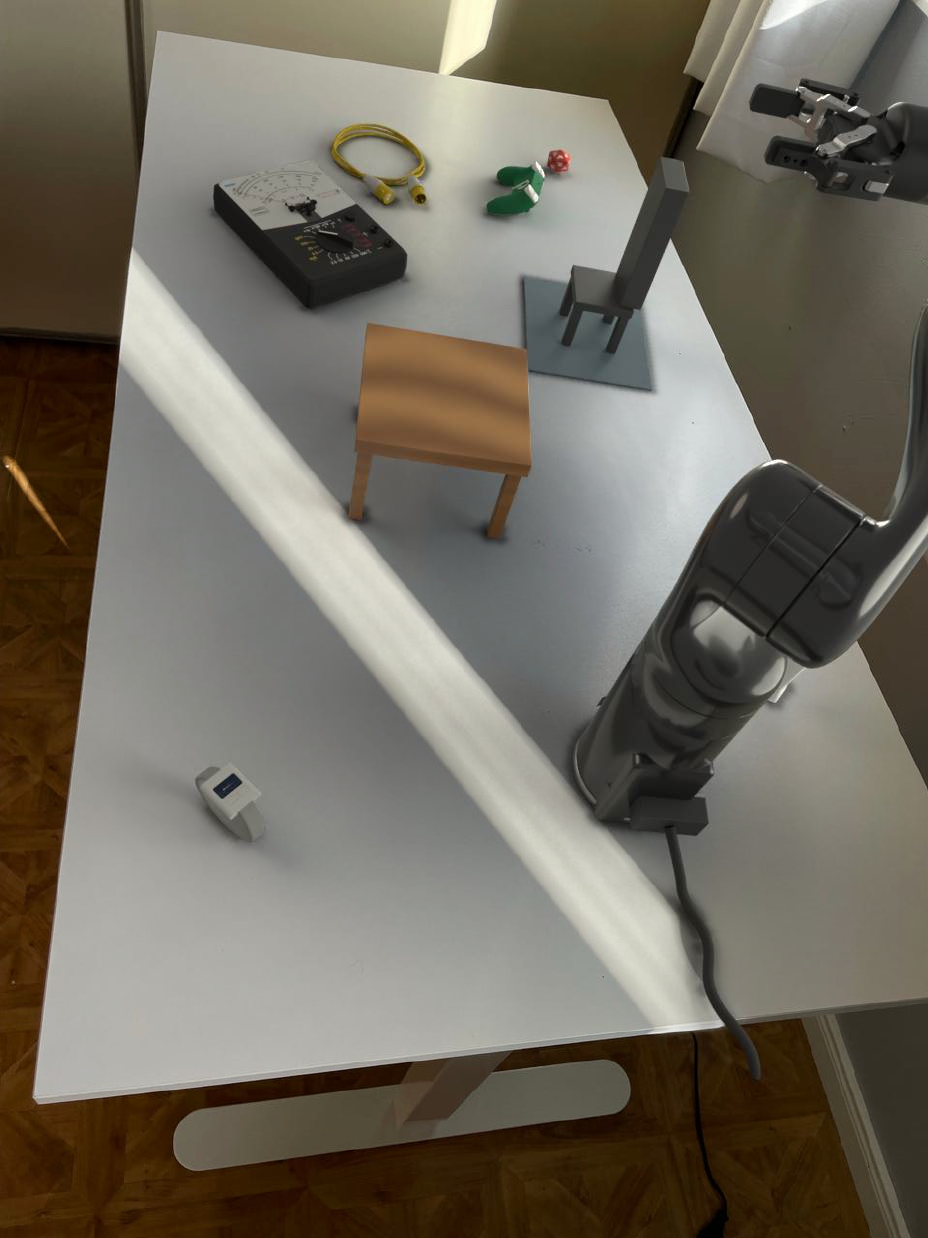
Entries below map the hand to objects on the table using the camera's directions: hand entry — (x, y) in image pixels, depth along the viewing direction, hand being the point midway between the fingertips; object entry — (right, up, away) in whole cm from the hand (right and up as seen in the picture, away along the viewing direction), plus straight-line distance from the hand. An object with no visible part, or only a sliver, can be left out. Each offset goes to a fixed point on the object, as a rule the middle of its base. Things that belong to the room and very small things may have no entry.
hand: (760, 121), depth 86 cm
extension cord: (-36, +13, +38) cm, 54 cm away
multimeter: (-43, -1, +26) cm, 51 cm away
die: (-14, +16, +45) cm, 50 cm away
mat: (-12, -10, +27) cm, 31 cm away
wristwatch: (-43, -58, -13) cm, 73 cm away
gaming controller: (-19, +9, +39) cm, 45 cm away
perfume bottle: (+2, -49, +4) cm, 49 cm away
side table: (-29, -29, +10) cm, 42 cm away
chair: (-12, -10, +27) cm, 31 cm away
